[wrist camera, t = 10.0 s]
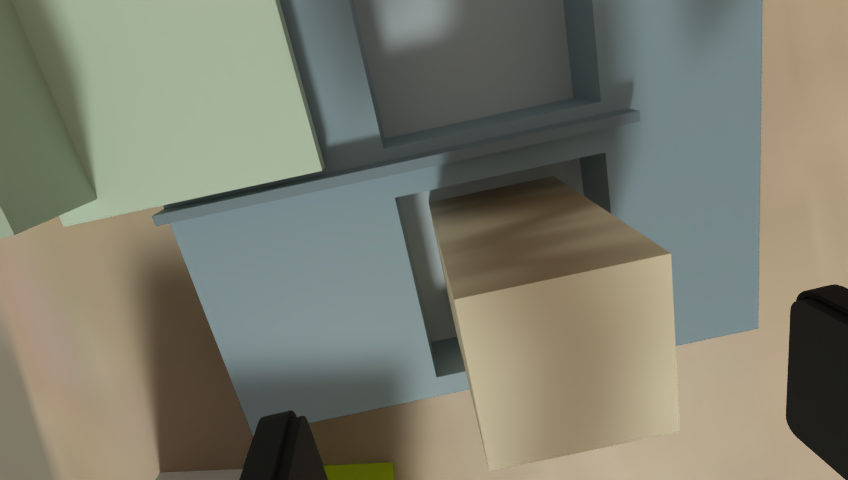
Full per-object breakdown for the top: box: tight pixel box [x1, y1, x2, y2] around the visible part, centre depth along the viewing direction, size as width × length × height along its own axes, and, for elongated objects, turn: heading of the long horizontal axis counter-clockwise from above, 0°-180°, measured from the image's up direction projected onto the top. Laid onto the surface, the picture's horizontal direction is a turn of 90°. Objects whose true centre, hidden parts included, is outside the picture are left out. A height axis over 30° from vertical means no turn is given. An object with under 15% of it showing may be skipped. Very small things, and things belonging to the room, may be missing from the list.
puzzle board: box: [152, 0, 763, 435], centre depth 16 cm, size 18×16×4 cm
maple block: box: [429, 176, 680, 471], centre depth 15 cm, size 4×4×8 cm
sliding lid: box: [0, 0, 325, 238], centre depth 12 cm, size 7×7×4 cm
